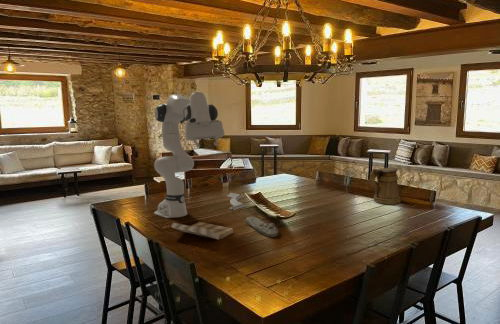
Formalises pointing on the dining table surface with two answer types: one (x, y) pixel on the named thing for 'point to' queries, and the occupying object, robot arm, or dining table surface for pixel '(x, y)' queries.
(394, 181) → the tankard
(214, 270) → the dining table surface
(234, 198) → the molding
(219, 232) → the oak board
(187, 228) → the birch plank
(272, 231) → the long grey stone
